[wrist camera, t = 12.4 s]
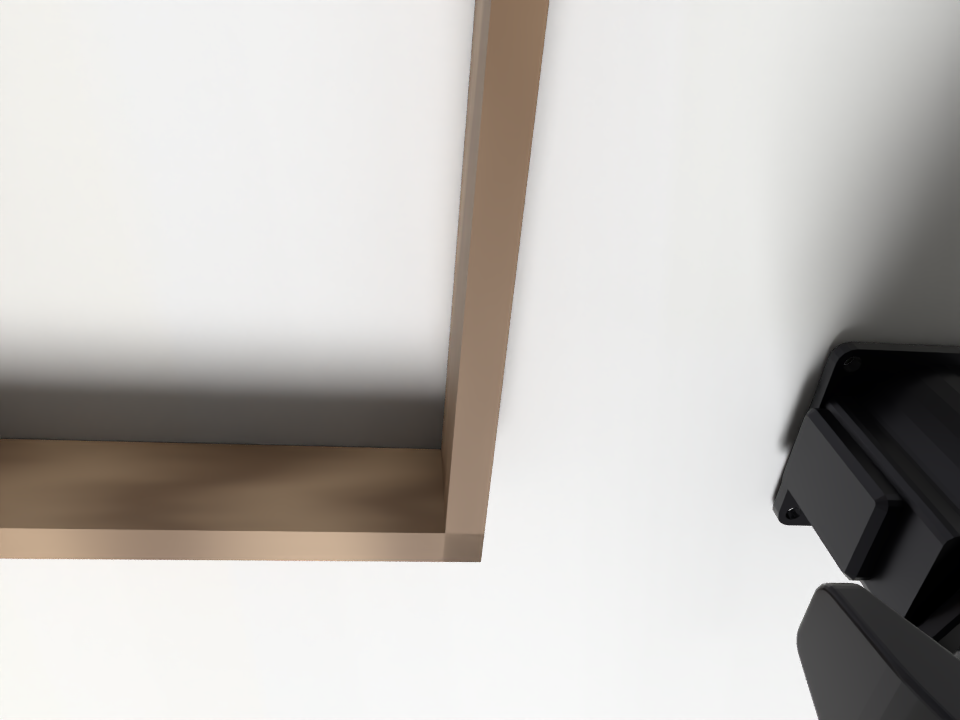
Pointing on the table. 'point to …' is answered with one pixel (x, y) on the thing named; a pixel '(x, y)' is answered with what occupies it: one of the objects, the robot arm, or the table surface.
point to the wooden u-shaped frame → (322, 469)
